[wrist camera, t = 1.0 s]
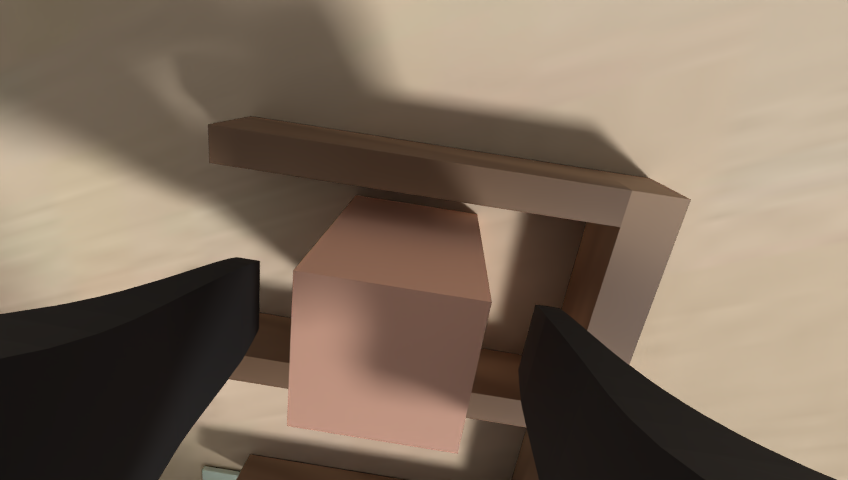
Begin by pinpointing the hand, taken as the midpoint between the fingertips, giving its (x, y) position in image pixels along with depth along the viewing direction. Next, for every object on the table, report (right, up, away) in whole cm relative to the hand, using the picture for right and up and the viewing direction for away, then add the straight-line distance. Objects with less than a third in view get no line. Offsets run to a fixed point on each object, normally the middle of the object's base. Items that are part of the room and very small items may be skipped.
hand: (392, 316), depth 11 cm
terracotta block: (0, +1, +4) cm, 4 cm away
